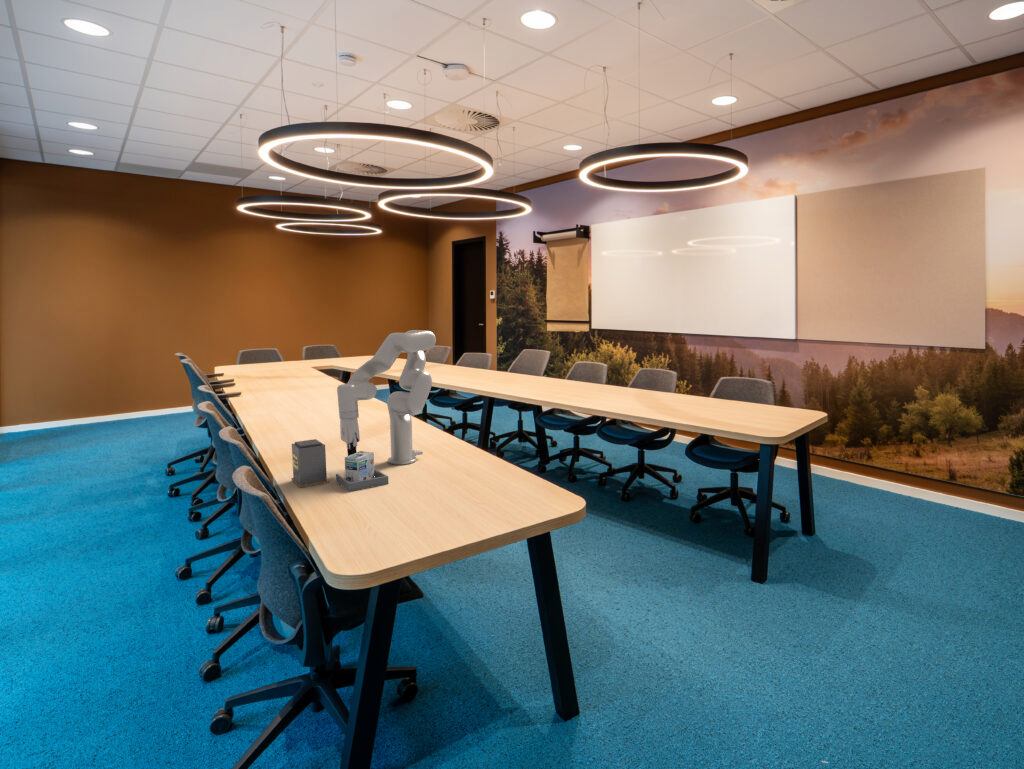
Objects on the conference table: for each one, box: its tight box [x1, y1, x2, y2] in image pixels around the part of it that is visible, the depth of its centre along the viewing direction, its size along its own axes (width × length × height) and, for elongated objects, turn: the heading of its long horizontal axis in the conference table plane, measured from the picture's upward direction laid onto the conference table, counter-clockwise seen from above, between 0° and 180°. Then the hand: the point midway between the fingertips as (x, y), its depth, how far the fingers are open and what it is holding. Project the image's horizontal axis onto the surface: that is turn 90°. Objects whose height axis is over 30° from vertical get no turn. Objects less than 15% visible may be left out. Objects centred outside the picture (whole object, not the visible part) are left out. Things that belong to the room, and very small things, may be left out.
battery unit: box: [290, 438, 330, 489], centre depth 212 cm, size 11×12×16 cm
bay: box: [335, 467, 389, 492], centre depth 211 cm, size 16×15×3 cm
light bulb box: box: [344, 450, 375, 483], centre depth 213 cm, size 11×7×11 cm, turn 160°
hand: (352, 457), depth 221 cm, fingers closed
